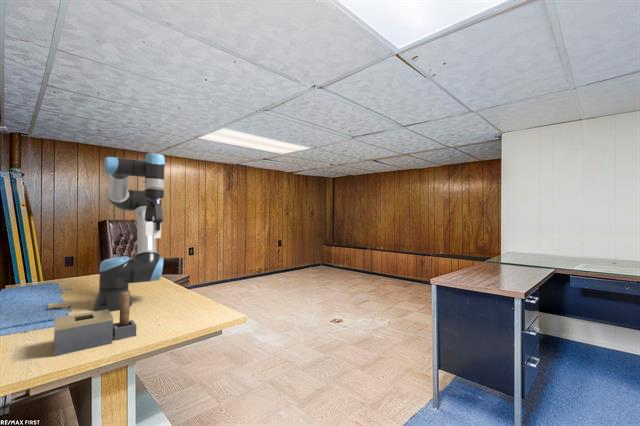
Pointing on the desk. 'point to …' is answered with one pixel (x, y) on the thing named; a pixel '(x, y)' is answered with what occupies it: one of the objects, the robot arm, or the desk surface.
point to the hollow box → (82, 331)
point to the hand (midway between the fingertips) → (152, 237)
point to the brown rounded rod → (124, 308)
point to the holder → (124, 330)
